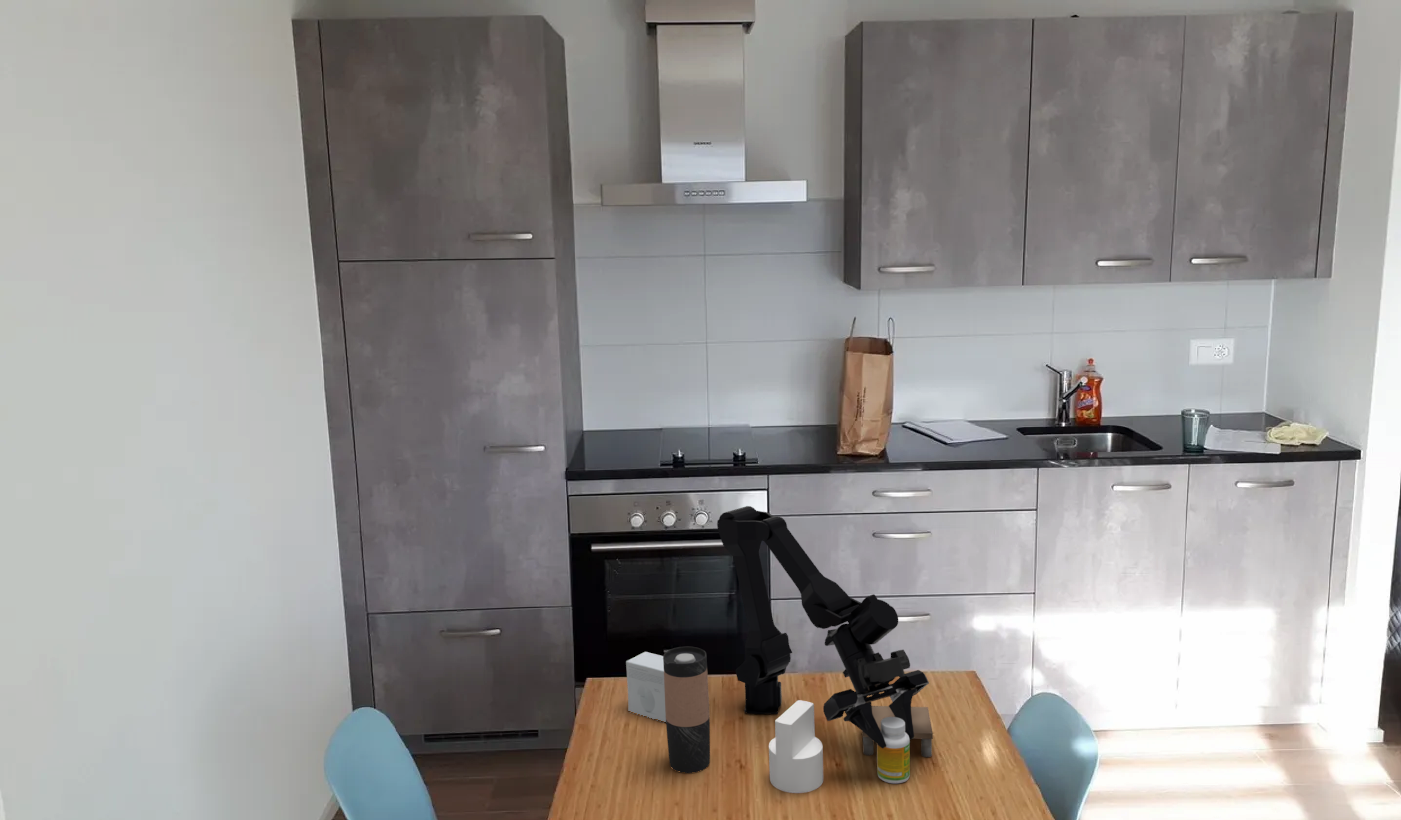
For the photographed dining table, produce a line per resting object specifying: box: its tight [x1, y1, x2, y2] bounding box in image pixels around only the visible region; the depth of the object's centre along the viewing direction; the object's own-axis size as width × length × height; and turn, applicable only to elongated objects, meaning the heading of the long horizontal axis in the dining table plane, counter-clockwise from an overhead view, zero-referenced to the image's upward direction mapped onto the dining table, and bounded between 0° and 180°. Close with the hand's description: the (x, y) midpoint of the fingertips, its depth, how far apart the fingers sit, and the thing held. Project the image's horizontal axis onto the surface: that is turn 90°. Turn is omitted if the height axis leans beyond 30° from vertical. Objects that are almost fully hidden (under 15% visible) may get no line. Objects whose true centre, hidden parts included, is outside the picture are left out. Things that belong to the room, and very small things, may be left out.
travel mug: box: [662, 646, 711, 774], centre depth 175 cm, size 8×8×20 cm
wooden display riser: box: [861, 705, 934, 758], centre depth 180 cm, size 12×10×4 cm
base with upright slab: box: [768, 699, 824, 794], centre depth 169 cm, size 9×9×12 cm
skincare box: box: [625, 651, 666, 723], centre depth 196 cm, size 10×6×10 cm, turn 54°
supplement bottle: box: [876, 717, 911, 784], centre depth 169 cm, size 5×5×10 cm
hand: (898, 742), depth 167 cm, fingers open, 5 cm apart
